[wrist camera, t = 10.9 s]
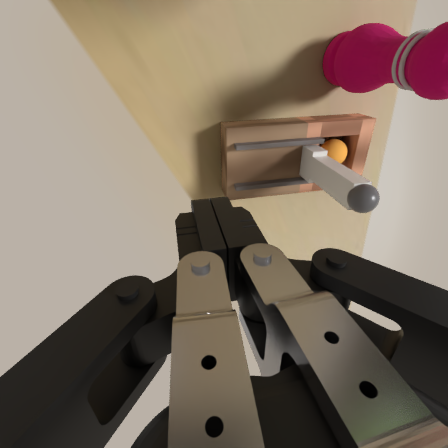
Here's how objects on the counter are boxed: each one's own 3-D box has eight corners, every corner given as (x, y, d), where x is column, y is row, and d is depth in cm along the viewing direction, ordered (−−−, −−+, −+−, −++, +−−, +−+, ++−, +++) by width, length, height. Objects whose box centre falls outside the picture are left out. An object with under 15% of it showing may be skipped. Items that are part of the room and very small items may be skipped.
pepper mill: (311, 46, 35) (450, 38, 19) (363, 14, 35) (554, -26, 18) (327, 99, 39) (452, 132, 23) (373, 71, 39) (539, 83, 22)
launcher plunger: (299, 145, 38) (363, 186, 26) (319, 144, 38) (392, 183, 26) (295, 175, 40) (353, 224, 28) (315, 173, 40) (379, 221, 29)
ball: (326, 134, 43) (316, 140, 40) (353, 138, 41) (345, 144, 38) (322, 159, 45) (312, 166, 42) (347, 164, 43) (339, 172, 40)
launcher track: (220, 122, 38) (228, 130, 34) (358, 113, 41) (382, 120, 37) (222, 189, 43) (229, 204, 39) (344, 176, 46) (363, 189, 42)
